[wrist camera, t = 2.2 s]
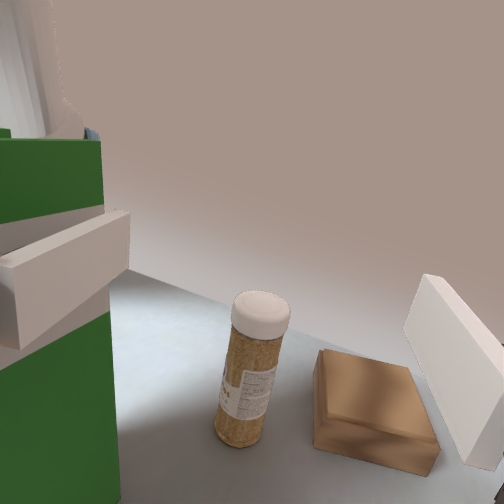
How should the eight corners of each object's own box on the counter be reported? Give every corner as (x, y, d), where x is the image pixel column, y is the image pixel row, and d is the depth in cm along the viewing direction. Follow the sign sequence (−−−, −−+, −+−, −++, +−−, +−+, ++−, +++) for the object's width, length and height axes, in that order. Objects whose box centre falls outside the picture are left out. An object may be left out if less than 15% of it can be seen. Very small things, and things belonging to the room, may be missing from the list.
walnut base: (313, 447, 31) (323, 414, 30) (312, 373, 40) (320, 345, 39) (426, 476, 30) (443, 444, 29) (399, 394, 39) (410, 366, 38)
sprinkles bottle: (211, 409, 33) (230, 286, 28) (257, 407, 34) (282, 289, 29) (216, 452, 29) (239, 317, 24) (267, 449, 30) (299, 319, 25)
